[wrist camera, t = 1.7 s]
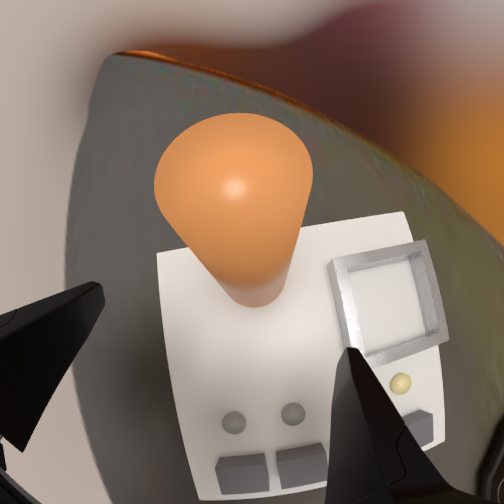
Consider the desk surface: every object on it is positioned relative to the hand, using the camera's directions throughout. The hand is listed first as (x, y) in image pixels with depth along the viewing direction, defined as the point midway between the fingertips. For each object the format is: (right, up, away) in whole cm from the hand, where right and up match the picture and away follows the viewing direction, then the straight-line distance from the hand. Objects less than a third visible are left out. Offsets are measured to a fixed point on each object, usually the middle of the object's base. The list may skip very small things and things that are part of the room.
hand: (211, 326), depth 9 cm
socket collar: (+11, -1, +9) cm, 15 cm away
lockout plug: (+1, +1, +11) cm, 11 cm away
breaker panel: (+6, -6, +10) cm, 13 cm away
